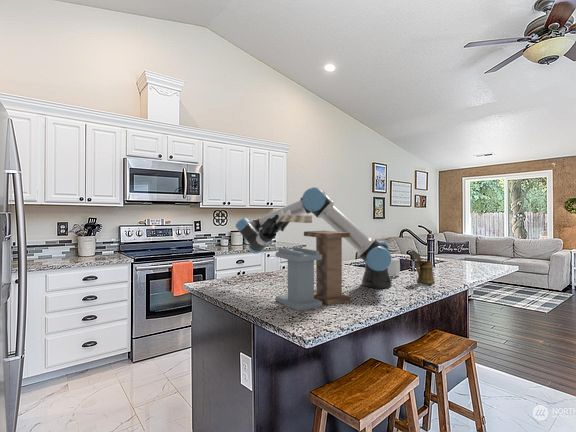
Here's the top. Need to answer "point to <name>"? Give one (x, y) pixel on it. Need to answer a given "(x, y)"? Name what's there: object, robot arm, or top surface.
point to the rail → (296, 218)
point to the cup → (394, 267)
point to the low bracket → (300, 278)
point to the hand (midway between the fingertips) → (286, 212)
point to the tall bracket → (329, 266)
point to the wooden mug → (423, 269)
